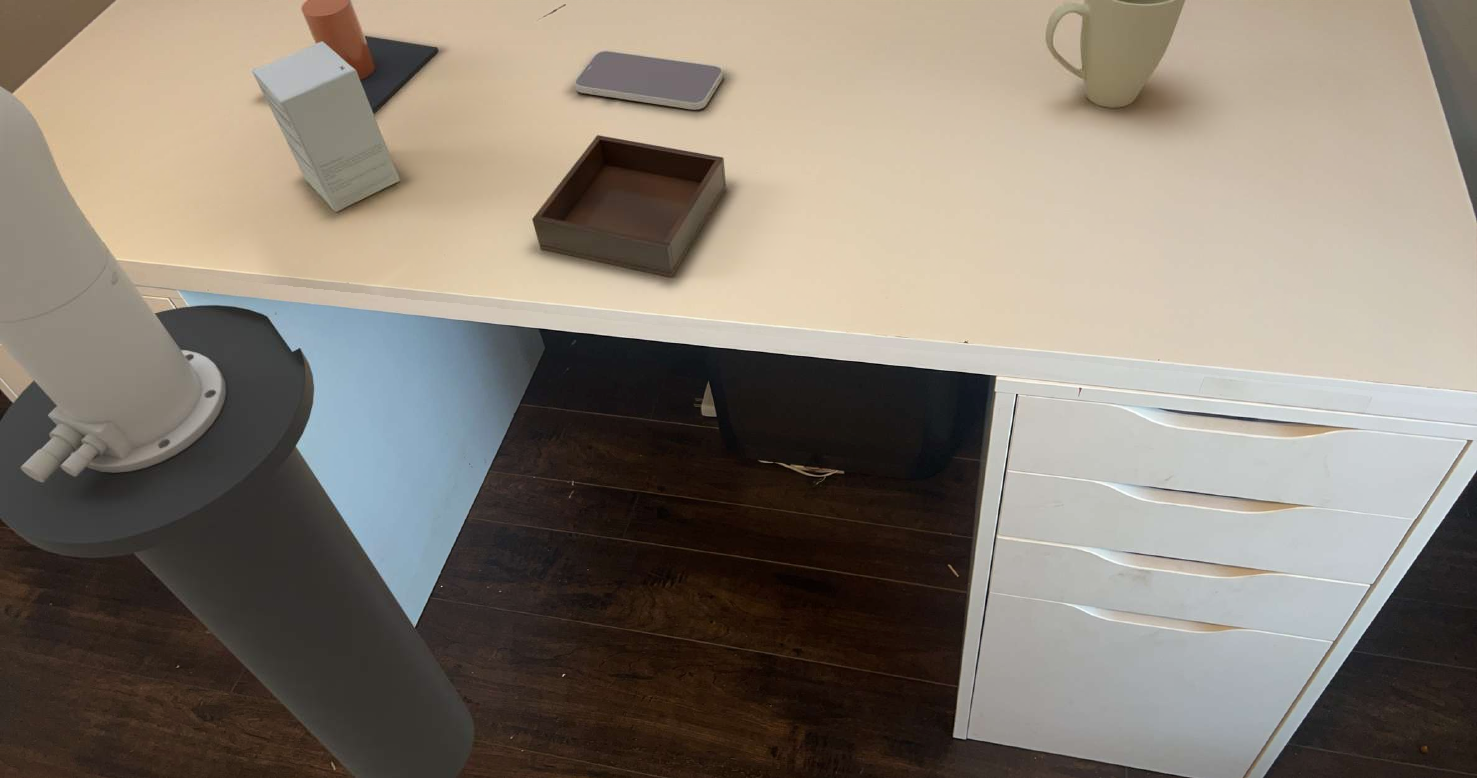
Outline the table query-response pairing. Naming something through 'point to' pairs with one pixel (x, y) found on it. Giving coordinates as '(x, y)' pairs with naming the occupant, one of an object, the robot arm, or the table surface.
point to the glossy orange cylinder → (340, 32)
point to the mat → (392, 67)
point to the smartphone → (649, 79)
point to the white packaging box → (328, 124)
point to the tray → (631, 205)
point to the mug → (1118, 45)
